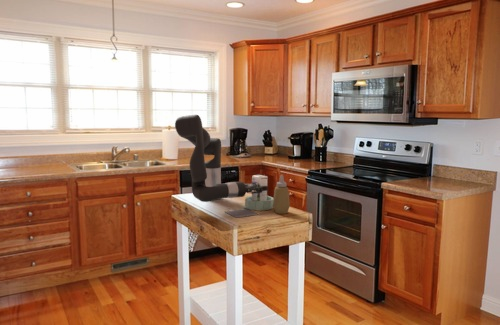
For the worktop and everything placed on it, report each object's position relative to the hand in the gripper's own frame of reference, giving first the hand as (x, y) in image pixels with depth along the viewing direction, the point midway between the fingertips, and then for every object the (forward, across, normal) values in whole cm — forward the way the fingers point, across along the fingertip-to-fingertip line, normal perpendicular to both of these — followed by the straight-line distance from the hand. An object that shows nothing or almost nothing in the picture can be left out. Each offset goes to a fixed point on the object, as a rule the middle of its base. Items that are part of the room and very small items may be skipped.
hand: (263, 187), depth 198 cm
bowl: (-2, 0, +10) cm, 10 cm away
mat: (-16, -7, +10) cm, 20 cm away
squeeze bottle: (+1, -15, +10) cm, 18 cm away
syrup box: (-2, 0, +9) cm, 9 cm away
